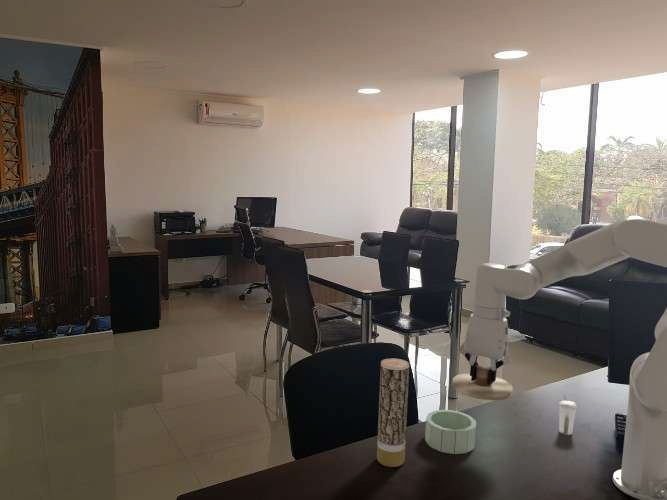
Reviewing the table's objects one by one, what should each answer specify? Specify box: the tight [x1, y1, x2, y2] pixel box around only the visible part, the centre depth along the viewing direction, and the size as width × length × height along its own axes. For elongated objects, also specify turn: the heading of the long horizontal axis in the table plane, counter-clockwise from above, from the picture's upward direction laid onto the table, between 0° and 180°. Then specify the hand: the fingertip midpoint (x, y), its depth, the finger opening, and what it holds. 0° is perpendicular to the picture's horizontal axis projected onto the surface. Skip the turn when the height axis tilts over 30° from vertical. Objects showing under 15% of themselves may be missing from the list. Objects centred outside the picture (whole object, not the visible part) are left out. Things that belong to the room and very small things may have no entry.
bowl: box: [424, 409, 477, 455], centre depth 140 cm, size 13×13×6 cm
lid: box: [451, 364, 514, 401], centre depth 135 cm, size 15×15×6 cm
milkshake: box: [558, 393, 578, 436], centre depth 147 cm, size 4×5×10 cm
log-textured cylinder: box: [376, 358, 410, 468], centre depth 128 cm, size 7×7×25 cm
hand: (482, 380), depth 135 cm, fingers closed on lid, 3 cm apart
